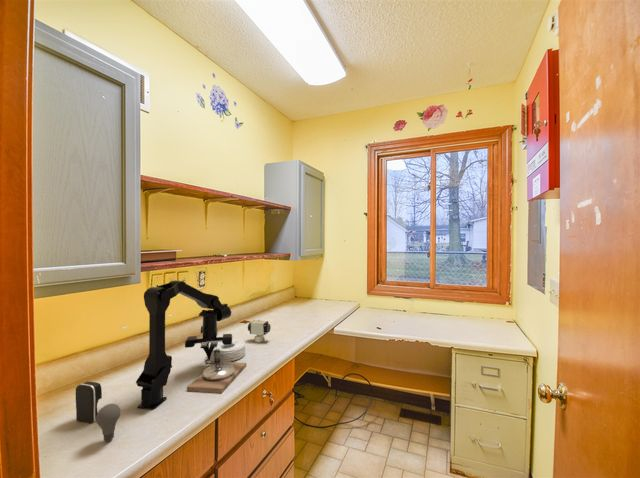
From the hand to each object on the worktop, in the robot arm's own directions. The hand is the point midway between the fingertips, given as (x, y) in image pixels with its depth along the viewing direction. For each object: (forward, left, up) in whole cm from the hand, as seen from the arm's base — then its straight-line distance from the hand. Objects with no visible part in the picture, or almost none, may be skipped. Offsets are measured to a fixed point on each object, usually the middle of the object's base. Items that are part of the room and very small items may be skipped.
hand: (209, 359), depth 123 cm
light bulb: (-44, +5, -5) cm, 45 cm away
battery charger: (-36, +20, -5) cm, 42 cm away
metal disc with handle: (-5, -7, -3) cm, 9 cm away
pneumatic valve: (+35, -10, -5) cm, 37 cm away
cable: (+15, -1, -5) cm, 15 cm away
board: (-6, -8, -4) cm, 11 cm away
